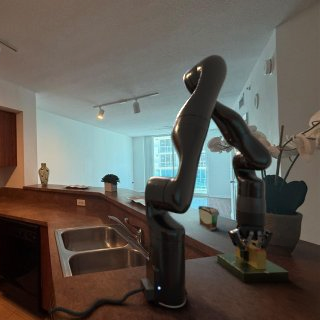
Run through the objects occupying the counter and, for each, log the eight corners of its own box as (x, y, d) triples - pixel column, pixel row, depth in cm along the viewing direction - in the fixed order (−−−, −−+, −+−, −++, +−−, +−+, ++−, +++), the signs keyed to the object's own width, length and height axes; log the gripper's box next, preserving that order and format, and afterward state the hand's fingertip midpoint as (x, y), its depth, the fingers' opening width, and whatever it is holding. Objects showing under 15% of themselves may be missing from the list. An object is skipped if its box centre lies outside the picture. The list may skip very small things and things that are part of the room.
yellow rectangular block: (235, 256, 68) (236, 239, 68) (243, 255, 68) (243, 239, 68) (257, 269, 60) (257, 251, 60) (266, 269, 60) (266, 251, 60)
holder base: (245, 284, 58) (245, 273, 58) (216, 261, 70) (216, 253, 70) (290, 282, 58) (291, 272, 58) (253, 260, 71) (253, 252, 70)
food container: (225, 232, 96) (225, 212, 96) (212, 232, 97) (212, 212, 96) (209, 223, 109) (209, 205, 108) (198, 223, 109) (198, 205, 109)
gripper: (260, 205, 68) (259, 254, 68) (220, 206, 67) (220, 255, 68) (283, 212, 60) (282, 266, 61) (239, 213, 60) (238, 267, 60)
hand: (249, 260), depth 64 cm, fingers closed on yellow rectangular block, 3 cm apart
